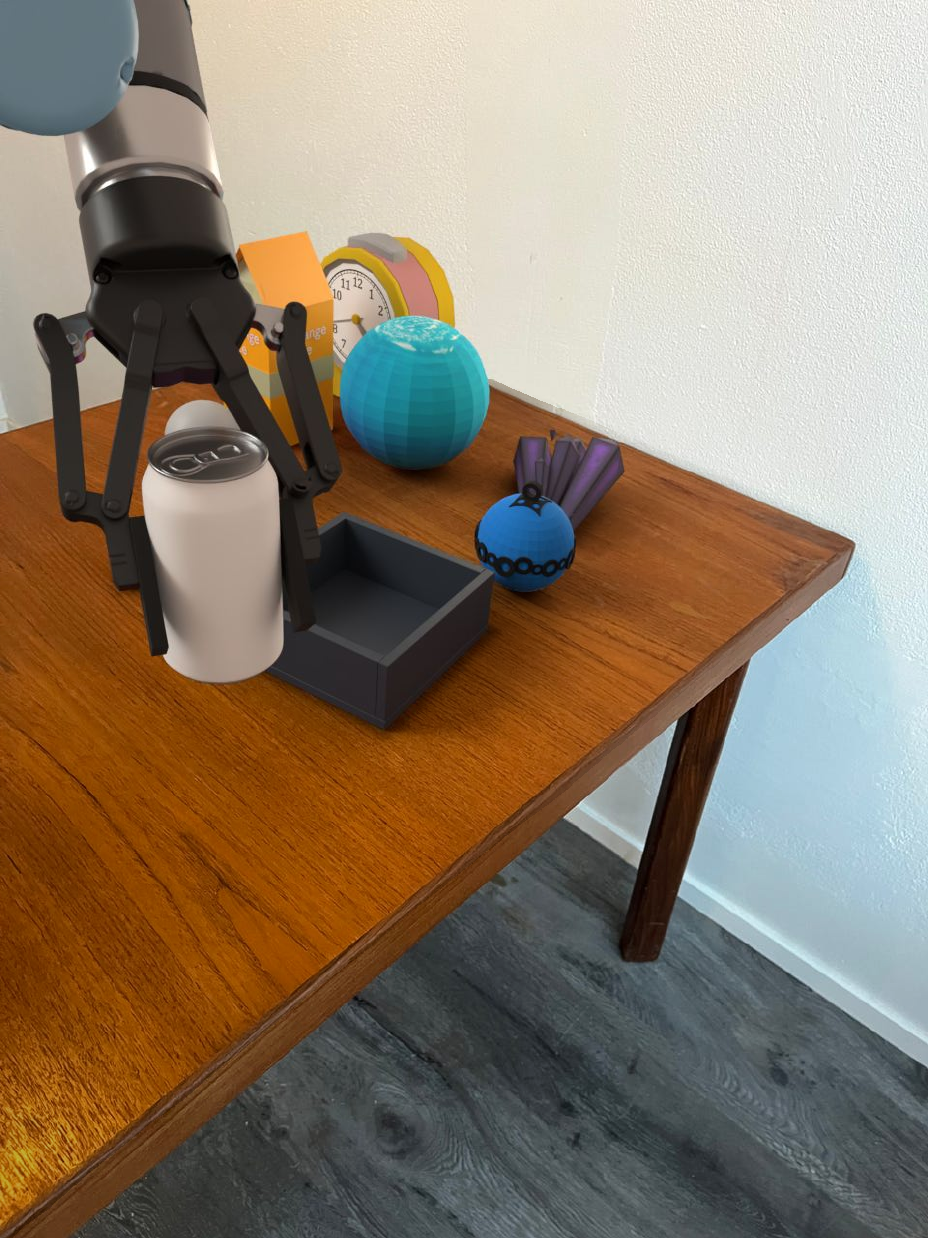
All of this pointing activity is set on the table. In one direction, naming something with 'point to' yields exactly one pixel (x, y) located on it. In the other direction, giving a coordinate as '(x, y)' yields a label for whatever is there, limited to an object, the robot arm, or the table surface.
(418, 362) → the decorative orb
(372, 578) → the tray
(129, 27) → the robot arm
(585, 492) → the crystal
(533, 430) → the table surface
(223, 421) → the chubby cartoon animal
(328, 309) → the orange juice
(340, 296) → the alarm clock
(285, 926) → the table surface
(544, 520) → the ornament
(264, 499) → the can
